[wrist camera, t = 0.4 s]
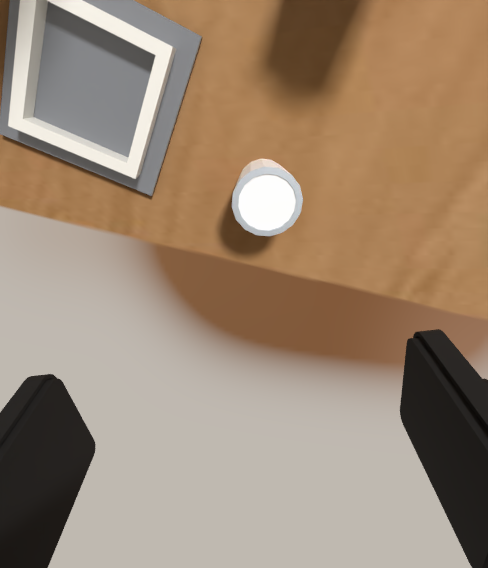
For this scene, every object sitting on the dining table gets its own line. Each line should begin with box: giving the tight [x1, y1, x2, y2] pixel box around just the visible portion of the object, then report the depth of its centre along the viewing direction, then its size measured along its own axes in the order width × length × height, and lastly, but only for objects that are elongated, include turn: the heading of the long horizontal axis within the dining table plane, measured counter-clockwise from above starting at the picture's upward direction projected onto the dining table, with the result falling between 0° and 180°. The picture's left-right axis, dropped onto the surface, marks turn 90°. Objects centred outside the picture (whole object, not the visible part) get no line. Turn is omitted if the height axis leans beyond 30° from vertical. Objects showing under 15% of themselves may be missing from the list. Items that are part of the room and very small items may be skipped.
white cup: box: [232, 159, 303, 236], centre depth 36 cm, size 7×7×7 cm
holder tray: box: [0, 0, 202, 196], centre depth 33 cm, size 16×16×3 cm
